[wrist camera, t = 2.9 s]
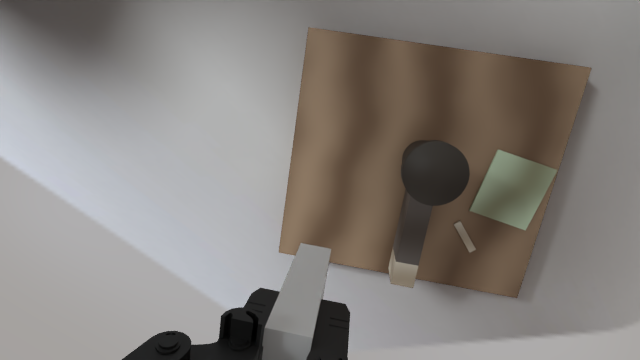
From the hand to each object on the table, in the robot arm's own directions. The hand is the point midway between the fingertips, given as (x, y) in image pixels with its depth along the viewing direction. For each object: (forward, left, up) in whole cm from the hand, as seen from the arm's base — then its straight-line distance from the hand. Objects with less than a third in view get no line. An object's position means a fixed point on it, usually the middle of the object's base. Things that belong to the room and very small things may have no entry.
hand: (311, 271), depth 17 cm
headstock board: (+7, +3, -17) cm, 18 cm away
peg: (+7, 0, -15) cm, 16 cm away
